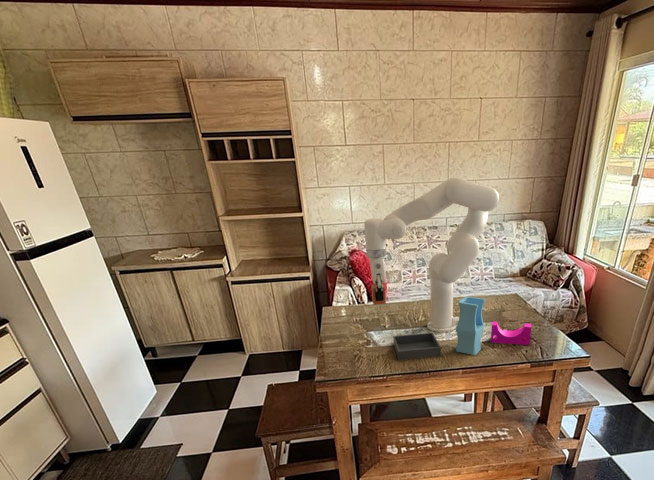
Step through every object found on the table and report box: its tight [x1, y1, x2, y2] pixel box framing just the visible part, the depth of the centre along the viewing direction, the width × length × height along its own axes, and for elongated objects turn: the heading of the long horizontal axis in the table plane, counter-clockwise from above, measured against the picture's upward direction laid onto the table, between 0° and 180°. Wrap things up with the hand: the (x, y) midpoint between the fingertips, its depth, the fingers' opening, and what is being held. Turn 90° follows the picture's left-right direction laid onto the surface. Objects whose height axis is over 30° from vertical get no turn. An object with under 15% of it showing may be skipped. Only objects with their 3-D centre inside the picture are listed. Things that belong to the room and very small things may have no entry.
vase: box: [455, 296, 486, 356], centre depth 153 cm, size 8×8×20 cm
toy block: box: [490, 321, 532, 346], centre depth 163 cm, size 15×6×8 cm, turn 76°
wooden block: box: [370, 283, 387, 306], centre depth 165 cm, size 5×5×7 cm
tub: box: [392, 332, 442, 361], centre depth 158 cm, size 16×14×4 cm
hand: (378, 297), depth 166 cm, fingers closed on wooden block, 5 cm apart
